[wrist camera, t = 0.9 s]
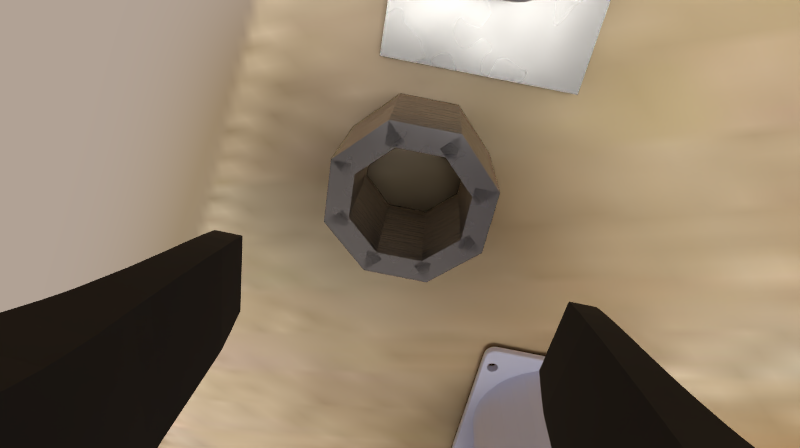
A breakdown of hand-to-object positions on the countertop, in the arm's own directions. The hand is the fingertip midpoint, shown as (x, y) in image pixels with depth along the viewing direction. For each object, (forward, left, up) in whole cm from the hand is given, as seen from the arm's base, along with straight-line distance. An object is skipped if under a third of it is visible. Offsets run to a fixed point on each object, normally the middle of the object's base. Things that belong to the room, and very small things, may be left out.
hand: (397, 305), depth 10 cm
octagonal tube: (0, 0, -9) cm, 9 cm away
